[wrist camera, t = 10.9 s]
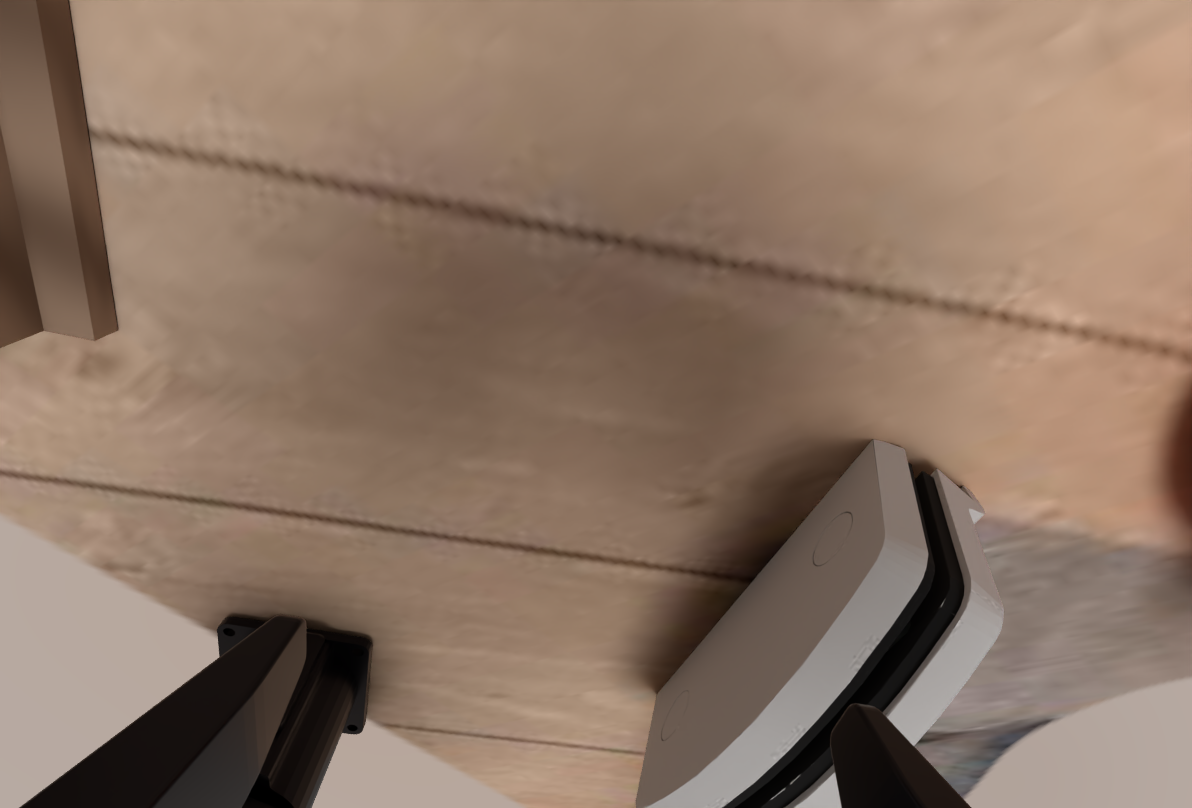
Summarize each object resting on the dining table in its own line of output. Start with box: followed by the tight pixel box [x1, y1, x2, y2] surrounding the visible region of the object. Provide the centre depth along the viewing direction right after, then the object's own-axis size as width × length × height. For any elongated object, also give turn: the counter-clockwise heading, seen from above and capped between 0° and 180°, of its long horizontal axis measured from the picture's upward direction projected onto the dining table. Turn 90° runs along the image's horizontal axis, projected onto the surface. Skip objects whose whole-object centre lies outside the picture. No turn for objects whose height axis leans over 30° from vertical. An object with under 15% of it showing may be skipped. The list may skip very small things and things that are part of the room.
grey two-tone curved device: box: [636, 439, 1004, 808], centre depth 21 cm, size 17×5×10 cm, turn 153°
